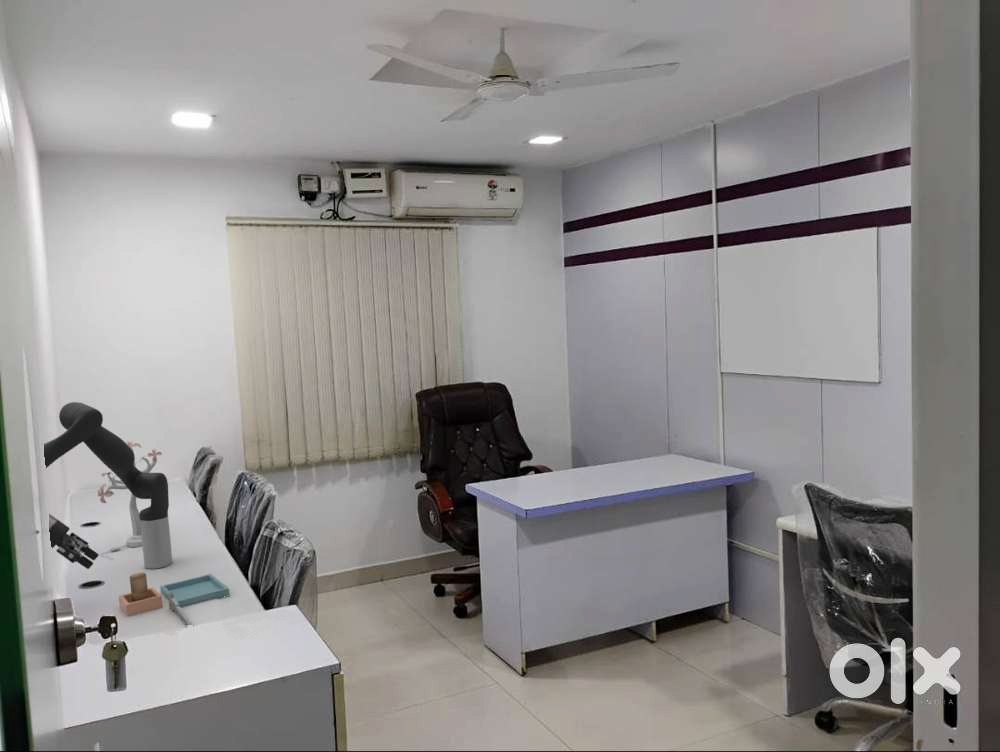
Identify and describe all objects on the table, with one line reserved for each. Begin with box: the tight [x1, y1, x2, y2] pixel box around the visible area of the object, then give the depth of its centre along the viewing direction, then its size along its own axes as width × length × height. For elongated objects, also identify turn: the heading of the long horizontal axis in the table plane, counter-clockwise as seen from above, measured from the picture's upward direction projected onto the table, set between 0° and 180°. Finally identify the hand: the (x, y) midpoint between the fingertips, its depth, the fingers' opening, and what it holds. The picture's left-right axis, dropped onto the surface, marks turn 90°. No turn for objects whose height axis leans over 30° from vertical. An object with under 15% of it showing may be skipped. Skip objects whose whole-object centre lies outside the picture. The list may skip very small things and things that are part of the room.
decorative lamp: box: [97, 440, 163, 560], centre depth 311 cm, size 28×24×40 cm
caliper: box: [167, 592, 194, 626], centre depth 237 cm, size 20×1×6 cm, turn 39°
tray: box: [159, 573, 230, 608], centre depth 257 cm, size 18×16×2 cm
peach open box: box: [118, 587, 163, 617], centre depth 247 cm, size 10×10×4 cm
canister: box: [129, 572, 148, 602], centre depth 247 cm, size 5×5×10 cm
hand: (93, 561), depth 242 cm, fingers open, 8 cm apart
